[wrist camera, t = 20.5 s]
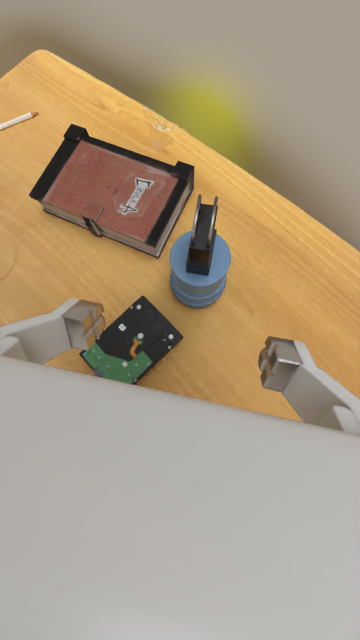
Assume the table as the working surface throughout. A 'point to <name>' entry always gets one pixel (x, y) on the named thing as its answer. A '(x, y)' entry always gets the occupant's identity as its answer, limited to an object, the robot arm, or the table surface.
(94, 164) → the book
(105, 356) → the disk drive
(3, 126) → the pencil
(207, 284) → the cup stack
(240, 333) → the table surface
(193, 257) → the clip
